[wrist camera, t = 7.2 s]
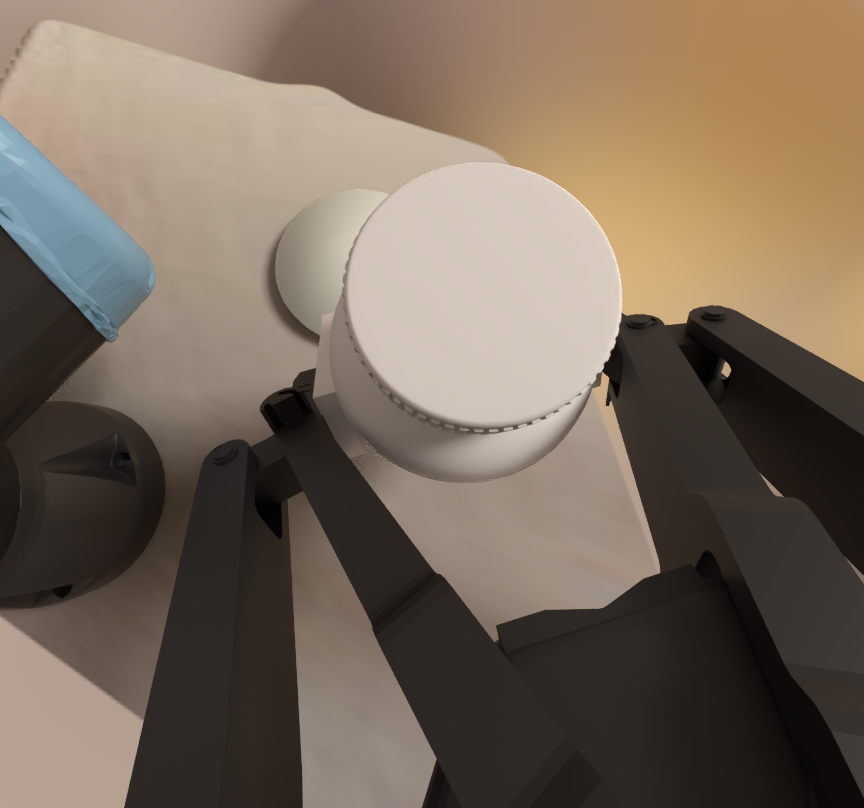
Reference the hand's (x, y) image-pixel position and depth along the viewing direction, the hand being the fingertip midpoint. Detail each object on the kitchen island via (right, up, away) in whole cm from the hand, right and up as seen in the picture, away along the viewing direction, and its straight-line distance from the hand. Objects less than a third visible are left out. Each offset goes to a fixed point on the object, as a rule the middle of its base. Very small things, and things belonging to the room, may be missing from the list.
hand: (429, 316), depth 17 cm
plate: (-6, +8, +15) cm, 18 cm away
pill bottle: (+1, -4, +5) cm, 6 cm away
